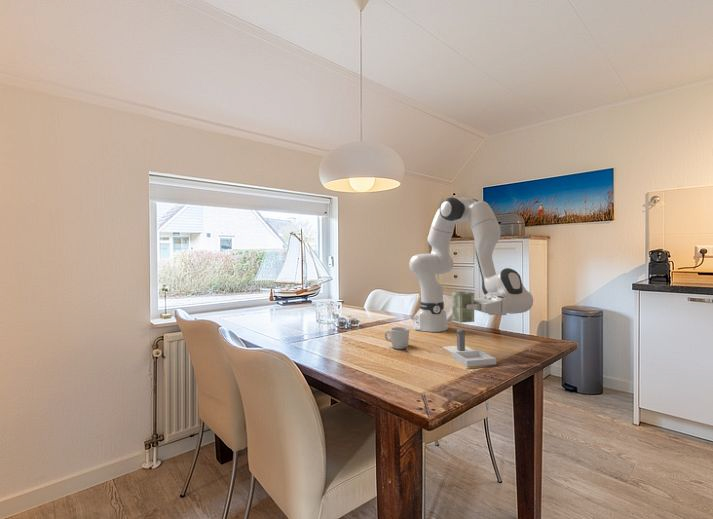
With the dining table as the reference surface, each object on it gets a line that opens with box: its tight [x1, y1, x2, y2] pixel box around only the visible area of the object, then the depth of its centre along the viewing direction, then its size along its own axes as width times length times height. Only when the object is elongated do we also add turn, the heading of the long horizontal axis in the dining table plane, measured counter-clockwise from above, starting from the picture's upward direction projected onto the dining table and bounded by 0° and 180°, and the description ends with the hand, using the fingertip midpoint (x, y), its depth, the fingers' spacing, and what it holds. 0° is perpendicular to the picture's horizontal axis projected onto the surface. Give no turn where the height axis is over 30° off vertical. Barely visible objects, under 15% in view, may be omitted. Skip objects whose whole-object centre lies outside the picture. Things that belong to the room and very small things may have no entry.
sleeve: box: [451, 290, 475, 324], centre depth 138 cm, size 6×6×11 cm
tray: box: [451, 349, 497, 370], centre depth 127 cm, size 11×11×3 cm
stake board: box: [442, 328, 474, 354], centre depth 142 cm, size 10×10×9 cm
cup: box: [384, 326, 410, 350], centre depth 150 cm, size 11×8×8 cm
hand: (460, 305), depth 137 cm, fingers closed on sleeve, 6 cm apart
